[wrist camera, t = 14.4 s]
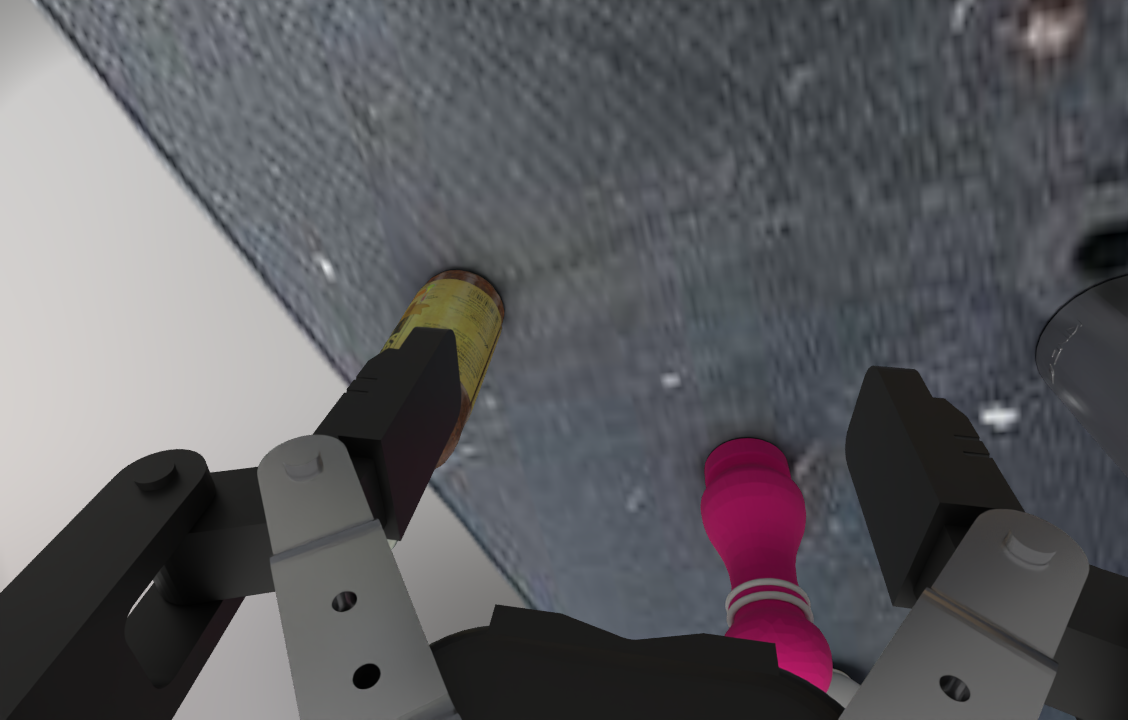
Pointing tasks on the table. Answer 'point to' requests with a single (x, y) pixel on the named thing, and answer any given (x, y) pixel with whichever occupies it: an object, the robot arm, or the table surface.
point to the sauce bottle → (457, 333)
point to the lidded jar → (842, 687)
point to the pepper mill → (763, 553)
